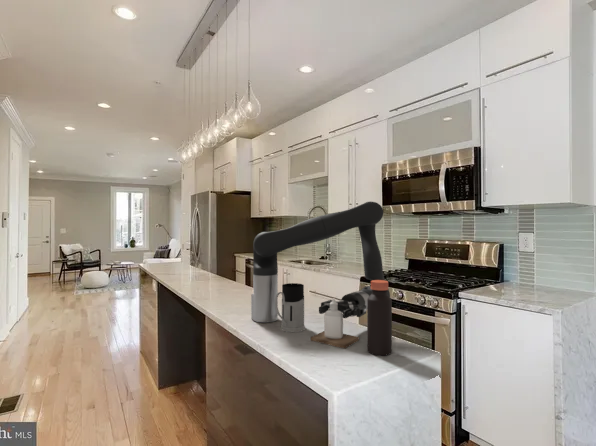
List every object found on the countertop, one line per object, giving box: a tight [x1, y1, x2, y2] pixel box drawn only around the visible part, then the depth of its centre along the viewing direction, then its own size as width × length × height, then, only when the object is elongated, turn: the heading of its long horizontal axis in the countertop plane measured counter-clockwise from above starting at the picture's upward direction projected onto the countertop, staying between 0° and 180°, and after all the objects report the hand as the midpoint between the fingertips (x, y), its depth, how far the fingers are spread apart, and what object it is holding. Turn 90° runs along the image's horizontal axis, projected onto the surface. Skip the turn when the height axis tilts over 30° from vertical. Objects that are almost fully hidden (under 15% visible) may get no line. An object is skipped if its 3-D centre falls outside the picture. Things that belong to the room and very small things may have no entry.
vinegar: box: [366, 280, 393, 357], centre depth 97 cm, size 7×7×20 cm
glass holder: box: [275, 282, 306, 333], centre depth 117 cm, size 9×14×15 cm, turn 147°
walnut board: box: [310, 330, 360, 349], centre depth 107 cm, size 12×9×1 cm
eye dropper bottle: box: [324, 297, 344, 339], centre depth 107 cm, size 4×6×12 cm
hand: (331, 312), depth 106 cm, fingers open, 8 cm apart
